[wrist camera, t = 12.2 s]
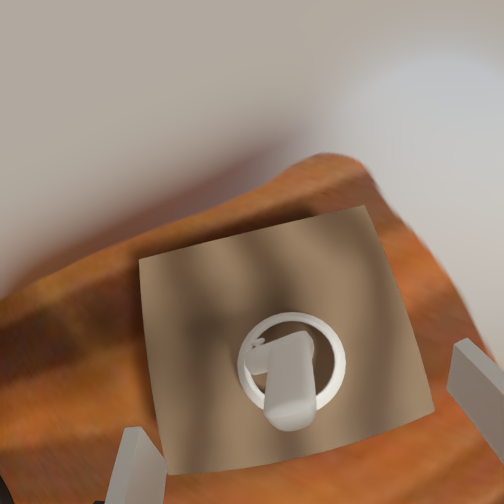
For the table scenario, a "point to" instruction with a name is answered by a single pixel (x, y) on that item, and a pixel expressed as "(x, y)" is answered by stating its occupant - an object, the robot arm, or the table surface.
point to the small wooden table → (260, 308)
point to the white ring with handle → (288, 372)
